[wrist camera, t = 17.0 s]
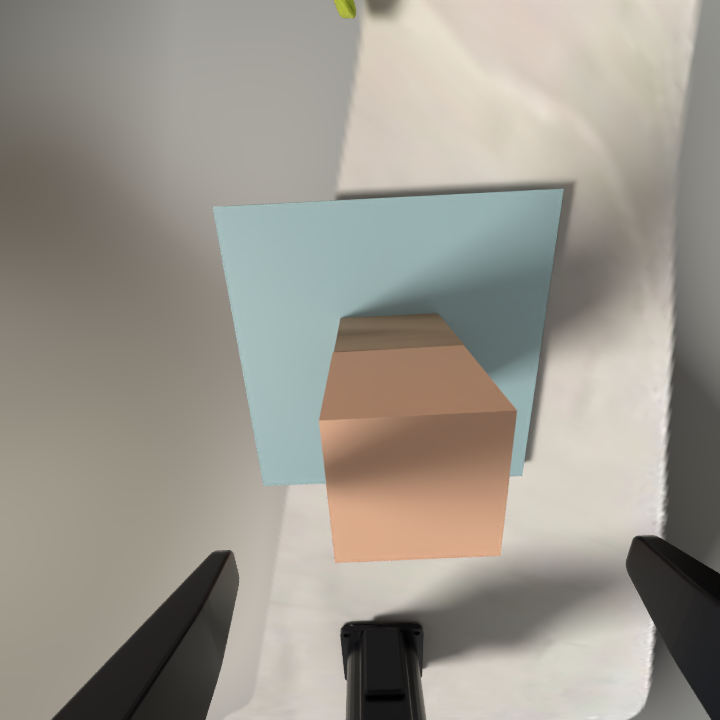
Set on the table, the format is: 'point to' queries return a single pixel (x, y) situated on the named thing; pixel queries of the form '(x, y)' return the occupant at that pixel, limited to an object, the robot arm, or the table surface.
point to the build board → (381, 298)
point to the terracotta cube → (415, 454)
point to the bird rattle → (346, 8)
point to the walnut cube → (394, 332)
